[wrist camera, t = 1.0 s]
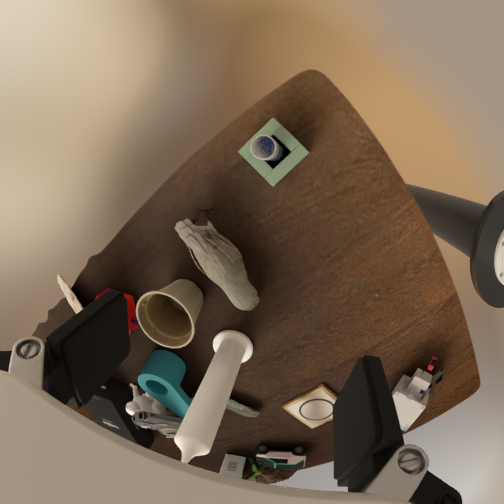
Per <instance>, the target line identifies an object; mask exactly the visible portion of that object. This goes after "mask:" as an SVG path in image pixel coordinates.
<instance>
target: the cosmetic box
mask: <svg viewBox="0 0 504 504" xmlns="http://www.w3.org/2000/svg"><path fill="white" fill-rule="evenodd" d="M245 460H246V457H241V456H236V455H230V454H225V458H224V461H223V464H222V467H221V470H220V474H223V475H227V476H231V477H235V478H239V479H242V473H243V468H244V464H245Z"/></svg>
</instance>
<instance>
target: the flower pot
mask: <svg viewBox="0 0 504 504" xmlns="http://www.w3.org/2000/svg"><path fill="white" fill-rule="evenodd" d="M202 305H203V294H202V292H201V290H200V289H199V288H198V287H197V286H196V284H195V283H193V282H192V281H189V280H186V279H179V280H176V281H174V282H173V283H171V284H169V285H168V286H166V287H164V288H162V289H161V290H158V291H150V292H147V293H145V294H144V295H143V296H142V297H141V298H140V299H139V301H138V303H137V306H136V316H137V319H138V322H139V324H140V326H141V328H142V330H143V331H144V332H145V334H146V335H147V336H148V337H149V338H150V339H152V340H153V341H154V342H156V343H158V344H160V345H162V346H165V347H168V348H181V347H184V346H186V345H187V344H189V343H190V341H191V340H192V338H193V336H194V332H195V321H196V319H197V317H198V314H199V312H200V310H201V307H202ZM183 308H184V309H183Z"/></svg>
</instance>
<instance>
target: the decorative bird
mask: <svg viewBox="0 0 504 504" xmlns="http://www.w3.org/2000/svg"><path fill="white" fill-rule="evenodd" d="M213 209H214V208H213ZM213 209H204V210H201V209H199V210H200V211H201V212H203V214H204V216H205V215H206V217H207V222H208V223H207V224H208V226H195V225H193V224H194V223H196V222H195V221H197V220H198V219H196V220H193V219H190V220H189V219H184V221H183V222H182V221H179V222H178V223H177V224H176V227H175V230H176V231H177V232H178V233H179V236H180V237H181V238H182V240H183V241H184V242H185V243H186V245H187V247H188V249H189V251H190V253H191V256H192V258H193V260H194V262H195V263H196V265H197V267H198V268H199V269H200V270H201V271H202V272H203V273H204V274H205V275H206V276H208V277H209V278H210V279H211V280H212V281H213V282H215V283H216V284H217V285H219V286H220V287H221V288H222V289H223V291H224V292H225V293H226V295H227V296H228V298H229V299H230V300H231V302H232V303H233V304H234V305H235V306H236V307H237V308H239V309H241V310H252V309H253V308H255V307H256V306H257V305H258V303H259V294H258V293H257V291H256V289H255V288H254V287H253V286H252V285H251V284H250V282H249V281H248V278H247V273H246V270H245V267H244V263H243V259H242V255H241V254H240V252H239V250H238V249H237V248H236V247H235V246H234V245H233V244H232V243H231V242H230V241H229V240H228V239H227V238H225V237H224V236H222V235H221V234H219V233H218V232H217V231H216V230H215V228H214V227H213V225H212V223H211V222H210V219H209V217H208V215H207V213H210V212H208V211H211V210H213Z"/></svg>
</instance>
